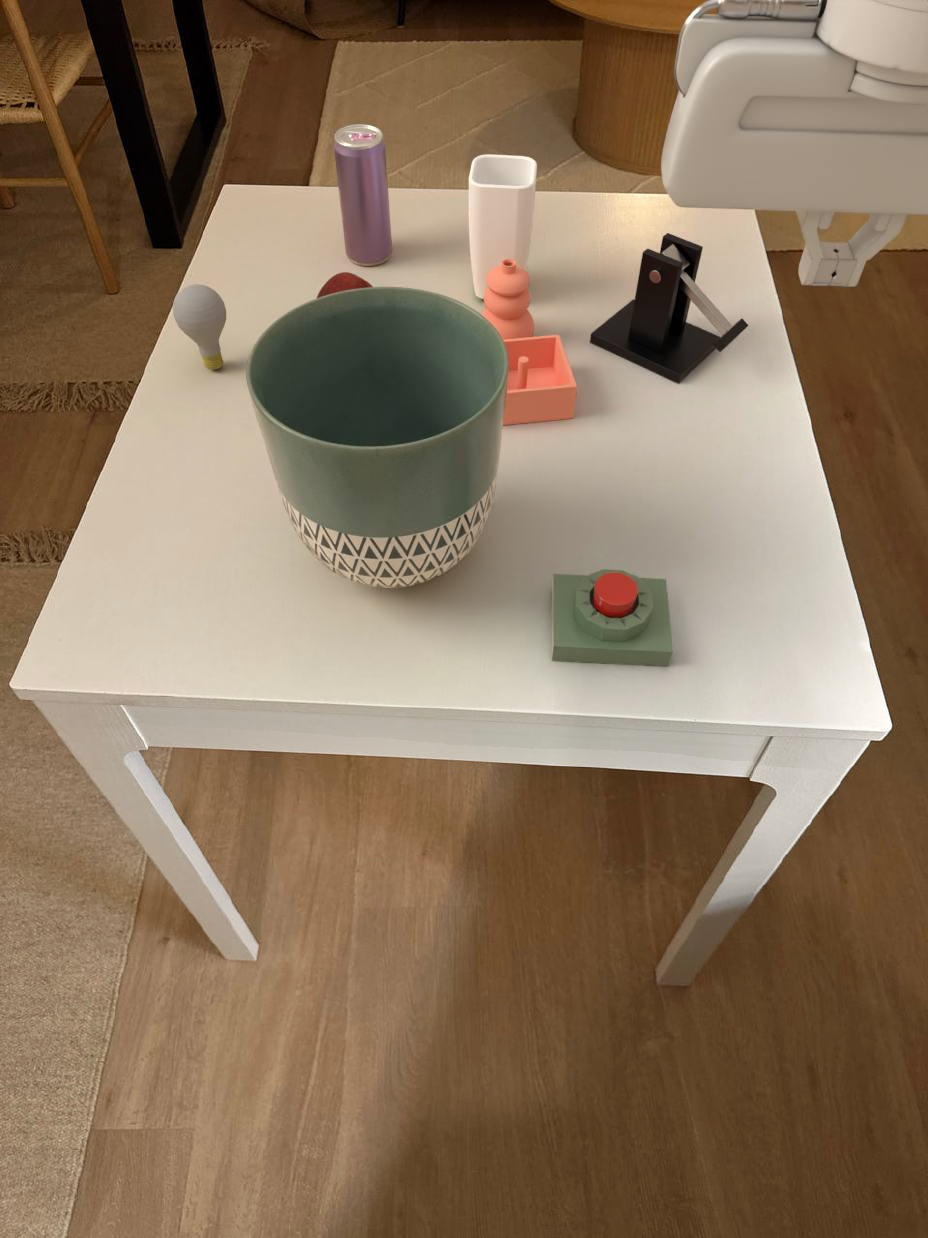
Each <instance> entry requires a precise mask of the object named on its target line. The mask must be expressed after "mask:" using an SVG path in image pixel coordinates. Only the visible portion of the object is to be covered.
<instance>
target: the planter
mask: <svg viewBox="0 0 928 1238" xmlns="http://www.w3.org/2000/svg"><path fill="white" fill-rule="evenodd" d="M316 298H317V297H316ZM316 298H314V299H311V300H309V301H307V302H305V303H302V304H300V305H298V306H296V307H294V308H293V309H291V310H289V311H288V312H286V313H284V314H282V316H280V317H278V319H276V320H275V321H274V322H272V323H271V324H270V325H269V326H268V327H267V328H266V329H265V330H264V331H263V332H262V333H261V334H260V336H259V337H258V339H257V340H256V342H255V343H254V345H253V347H252V349H251V351H250V353H249V355H248V359H247V363H246V370H245V376H246V377H245V378H246V379H245V380H246V385H247V389H248V393H249V397H250V400H251V404H252V407H253V411H254V414H255V417H256V422H257V424H258V427H259V430H260V433H261V436H262V439H263V442H264V446H265V448H266V449H265V450H266V453H267V455H268V458H269V462H270V465H271V469H272V472H273V475H274V478H275V481H276V484H277V488H278V490H279V493H280V496H281V500H282V503H283V506H284V508H285V511H286V513H287V516H288V518H289V521H290V523H291V524H292V526H293V528H294V530H295V532H296V533H297V535H298V537H299V538H300V540H301V541H302V543H303V544H304V545H305V547H306V548H307V549H308V551H309V552H310V553H311V554H312V555H313V556H314V558H316V559H317V560H318V561H319V562H320V563H321V564H322V565H323V566H325V567H326V568H327V569H329V570H330V571H332V572H333V573H335V574H337V575H338V576H341V577H342V578H344V579H346V580H349V581H352V582H354V583H358V584H361V585H365V586H369V587H374V588H389V589H392V588H393V589H394V588H406V587H410V586H411V587H412V586H416V585H419V584H422V583H426V582H428V581H430V580H432V579H435V578H437V577H439V576H440V575H443V574H444V573H446V572H448V571H449V570H451V569H452V568H453V567H455V566H456V565H457V564H458V563H459V562H460V561H461V560H463V558H465V557H466V556H467V554H468V553H469V552H470V551H471V550H472V548H473V547H474V546H475V544H476V542H477V541H478V539H479V537H480V535H481V534H482V532H483V530H484V528H485V527H486V523H487V521H488V518H489V515H490V513H491V510H492V507H493V503H494V498H495V493H496V490H497V489H496V488H497V479H498V472H499V463H500V456H501V450H502V449H501V446H502V437H503V429H504V425H503V420H504V412H505V405H506V397H507V386H508V375H509V357H508V352H507V348H506V346H505V343H504V341H503V339H502V337H501V335H500V334H499V332H498V331H497V330H496V328H495V327H494V326H493V325H492V324H491V323H490V322H489V321H488V320H487V319H486V318H485V317H484V316H482V315H481V314H482V313H480V312H478V311H477V310H475V308H472V307H470V306H469V305H467V304H465V303H463V302H461V301H460V300H457V299H454V298H453V297H449V296H446V295H443V294H441V293H437V292H433V291H429V290H424V289H419V288H410V287H402V286H373V287H368V288H358V289H351V290H346V291H341V292H336V293H333V294H329V295H326V296H322V297H319V298H317V299H316Z"/></svg>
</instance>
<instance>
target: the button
mask: <svg viewBox="0 0 928 1238" xmlns="http://www.w3.org/2000/svg"><path fill="white" fill-rule="evenodd" d="M637 593H638V588H637V585H636V583H635V582H634V580H633V579H631V578H630V577H629V576H627V575H625V574H622V573H617V572H611V573H606V574H604V575H602V576H601V577H599V578H598V579H597V581H596V583H595V587H594V593H593V604H594V606H595V608H596V609H597V610H598V611H599V612H600V613H602V614H603V615H606V616H608V617H623V616H625V615H627V614H629V613H630V612H631V611H632V610H633V608H634V606H635V602H636V598H637Z"/></svg>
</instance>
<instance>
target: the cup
mask: <svg viewBox="0 0 928 1238" xmlns="http://www.w3.org/2000/svg"><path fill="white" fill-rule="evenodd" d="M537 169H538V163H537V161H536V160H534V158H531V157H529V156H525V155H512V154H511V155H509V154H508V155H507V154H490V153H489V154H481V155H478V156H476V157H474V158H473V160H472V161H471V166H470V171H469V176H468V234H469V235H468V237H469V238H468V239H469V254H470V255H469V256H470V266H471V275H472V282H473V283H472V284H473V291H474V295H475V296H476V297H477V298H479V299H481V300H483V301H484V294H485V291H486V289H487V288H488V286H487V284H486V277H487V274H488V272H489V271H490V270H492V269H493V268H495V267H497V266H499V265H501V261H502V260H504V259H513V260H515V261H516V266H519V267H521V268H522V269H524V270H525V271H526V272H527V273H528V264H529V258H530V251H531V242H532V231H533V224H534V223H533V222H534V216H535V215H534V214H535V213H534V212H535V201H536V189H537V173H538V172H537V171H538V170H537Z"/></svg>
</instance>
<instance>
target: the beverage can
mask: <svg viewBox="0 0 928 1238" xmlns="http://www.w3.org/2000/svg"><path fill="white" fill-rule="evenodd" d="M333 150H334V160H335V169H336V176H337V177H336V178H337V186H338V187H337V188H338V195H339V196H338V197H339V203H340V204H339V205H340V213H341V222H342V231H343V238H344V249H345V254H346V256H347V257H348V259H349V260H350V261H351V262H352V263H353V264H355V265H358V266H362V267H374V266H379V265H382V264H383V263H386V262H387V261H388V259H389V258H390V257H391V254H392V253H393V242H392V227H391V225H392V224H391V212H390V211H391V210H390V197H389V182H388V167H387V153H386V142H385V140H384V134H383V132H382V131H381V129H380V128H379V127H376V126H374V125H369V124H365V123H363V124H362V123H358V124H350V125H345V126H343V127H341V128H339V129H338V130H336V132H335V133H334V144H333Z"/></svg>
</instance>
